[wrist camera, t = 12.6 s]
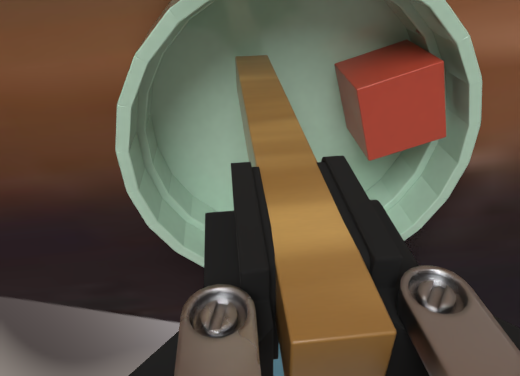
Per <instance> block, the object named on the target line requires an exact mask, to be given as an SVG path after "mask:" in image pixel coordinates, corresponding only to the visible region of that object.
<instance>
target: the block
mask: <svg viewBox="0 0 520 376" xmlns="http://www.w3.org/2000/svg"><path fill="white" fill-rule="evenodd" d="M334 66H335V71H336V76H337V81H338V86H339V91H340V96H341V101H342V106H343V111H344V116H345V121H346V127H347V129H348V130H349V132H350V133H351V135H352V136H353V138H354V139H355V141H356V142H357V144H358V145H359V147H360V148H361V150H362V151H363V153H364V154H365V156H366V157H367V159H368V160H369V161H371V160H374V159H377V158H381V157H384V156H387V155H390V154H393V153H397V152H400V151H403V150H406V149H409V148H413V147H416V146H419V145H422V144H425V143H429V142H432V141H435V140H438V139H441V138H445V137H446V111H445V82H444V61H443V60H441V59H440V58H438V57H436V56H434V55H433V54H431V53H429V52H428V51H426V50H424V49H423V48H421V47H419V46H418V45H416V44H414V43H412V42H411V41H409V40H407V39H406V40H403V41H401V42H398V43H395V44H392V45H389V46H386V47H383V48H380V49H377V50H374V51H371V52H368V53H365V54H362V55H359V56H356V57H353V58H350V59H347V60H344V61H341V62H338V63H335V64H334Z"/></svg>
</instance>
